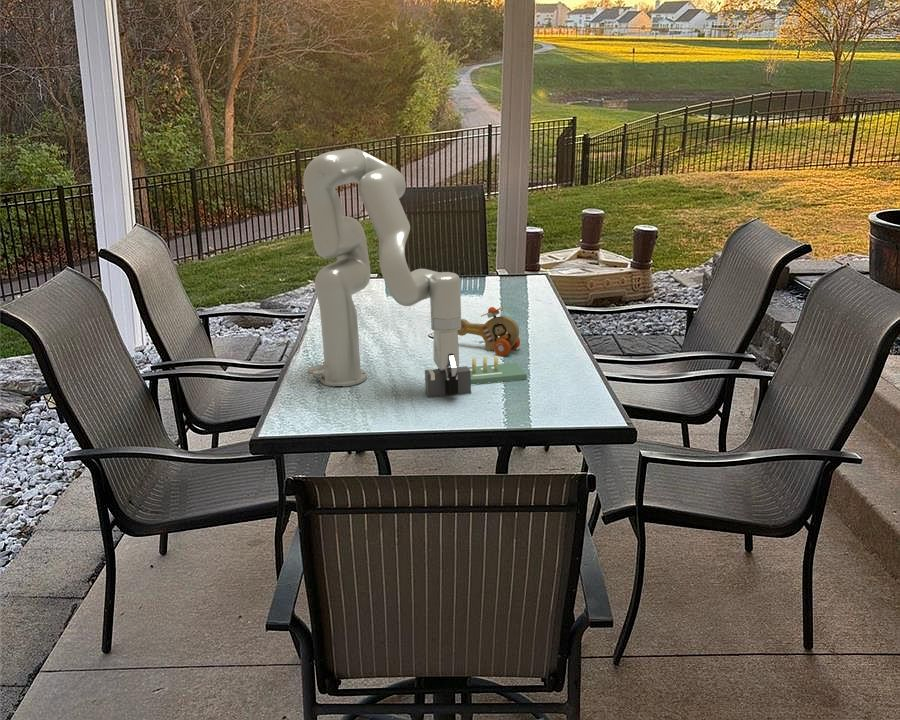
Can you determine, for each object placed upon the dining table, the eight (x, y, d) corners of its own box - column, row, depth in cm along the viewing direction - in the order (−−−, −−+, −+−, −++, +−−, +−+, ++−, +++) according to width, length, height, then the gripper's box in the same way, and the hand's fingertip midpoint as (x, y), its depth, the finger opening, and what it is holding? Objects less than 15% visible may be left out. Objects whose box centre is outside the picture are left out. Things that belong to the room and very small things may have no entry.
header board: (452, 386, 227) (452, 366, 225) (444, 374, 236) (444, 355, 235) (526, 379, 231) (526, 359, 229) (516, 367, 240) (516, 348, 238)
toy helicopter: (511, 358, 248) (511, 311, 244) (448, 348, 258) (447, 303, 254) (524, 350, 255) (523, 304, 251) (461, 341, 265) (460, 297, 261)
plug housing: (428, 397, 220) (427, 374, 218) (425, 392, 224) (424, 369, 222) (471, 393, 222) (470, 370, 220) (467, 388, 226) (467, 365, 224)
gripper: (424, 314, 225) (427, 378, 230) (438, 333, 208) (440, 401, 214) (453, 312, 226) (455, 376, 231) (468, 330, 210) (470, 398, 215)
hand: (448, 388), depth 223 cm, fingers open, 8 cm apart
